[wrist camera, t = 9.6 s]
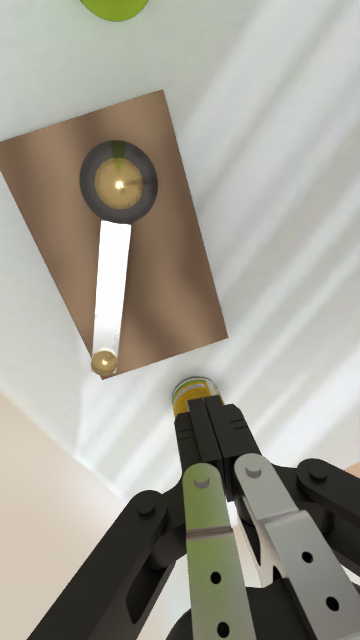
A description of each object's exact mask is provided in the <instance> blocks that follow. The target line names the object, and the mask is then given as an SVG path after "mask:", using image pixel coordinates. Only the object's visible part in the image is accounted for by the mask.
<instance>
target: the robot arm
mask: <svg viewBox="0 0 360 640" xmlns="http://www.w3.org/2000/svg"><path fill="white" fill-rule="evenodd" d="M187 408H188V412H184V413H179V414H177V416H176V419H175V422H174V424H175V431H176V437H177V444H178V450H179V456H180V462H181V468H182V476H181V478H180V480H179V482H178V483H177V484H176V486H174V487H173V488H172V489H170V490H169V491H167V492H165V493H163V494H161V493H159V492H157V491H154V490H146V491H142V492H140V493H138V494H136V495H135V496H134V497H133V498H132V499H131V500H130V501H129V503H128V504H127V505H126V507H125V508H124V509H123V511H122V512H121V513H120V515H119V516H118V518H117V519H116V520H115V522H114V523H113V524H112V526H111V527H110V528H109V530H108V531H107V532H106V534H105V535H104V536H103V538H102V539H101V540H100V542H99V543H98V544H97V546H96V547H95V548H94V550H93V551H92V552H91V554H90V555H89V557H88V558H87V559H86V561H85V562H84V563H83V565H82V566H81V567H80V569H79V570H78V572H77V573H76V574H75V575H74V577H73V578H72V579H71V581H70V582H69V583H68V585H67V586H66V588H65V589H64V590H63V592H62V593H61V594H60V596H59V597H58V598H57V600H56V601H55V602H54V604H53V605H52V606H51V608H50V609H49V610H48V612H47V613H46V614H45V616H44V617H43V618H42V620H41V621H40V623H39V624H38V625H37V627H36V628H35V630H34V631H33V632H32V633H31V635H30V636H29V637H28V639H27V640H136V639H137V637H138V635H139V633H140V632H141V630H142V628H143V626H144V624H145V622H146V620H147V618H148V616H149V614H150V612H151V610H152V608H153V607H154V604H155V603H156V600H157V599H158V597H159V595H160V593H161V591H162V589H163V587H164V585H165V583H166V582H167V580H168V577H169V576H170V574H171V572H172V570H173V568H174V566H175V563H176V560H178V559H179V558H180V557H182V556H184V555H185V554H187V560H188V573H189V586H190V599H191V608H190V609H189V610H188V611H187V612H185V613H184V614H183V615H182V617H181V618H180V619H179V620H178V621H177V622H176V624H175V625H174V627H173V628H172V629H171V631H170V633H169V635H168V636H167V638H166V640H360V586H359V585H357V584H355V583H353V582H351V581H350V579H349V578H348V576H347V574H346V573H345V571H344V569H343V568H342V566H341V565H343V566H344V567H346V568H347V569H349V570H350V571H352V572H353V573H355V574H356V575H357V576H359V577H360V478H358V477H355V476H353V475H351V474H349V473H347V472H345V471H343V470H341V469H339V468H337V467H335V466H333V465H331V464H329V463H327V462H325V461H323V460H320V459H314V458H311V459H306V460H303V461H302V462H300V463H299V465H298V467H297V468H289V467H281V466H277V465H274V464H272V463H270V461H269V460H268V459H266V458H265V457H263V456H262V454H261V452H260V450H259V448H258V446H257V444H256V442H255V440H254V438H253V435H252V433H251V431H250V429H249V428H248V425H247V423H246V421H245V418H244V416H243V414H242V412H241V410H240V409H239V408H237V407H236V406H235V405H234V404H228V405H223V402H222V400H221V397H220V395H219V394H218V395H213V396H207V397H203V398H196V399H191V400H187ZM225 495H226V499H227V502H231V501H234V502H235V506H236V509H237V518H238V523H239V525H240V528H241V530H242V533H243V535H244V538H245V540H246V543H247V546H248V548H249V551H250V553H251V556H252V558H253V561H254V563H255V566H256V568H257V571H258V574H259V578H260V581H261V586H262V588H254V587H245V583H244V578H243V574H242V569H241V564H240V559H239V555H238V550H237V545H236V540H235V536H234V532H233V529H232V528H231V524H230V520H229V515H228V510H227V505H226V499H225ZM340 564H341V565H340Z"/></svg>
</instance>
